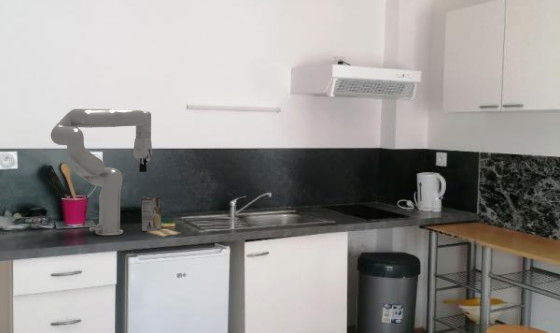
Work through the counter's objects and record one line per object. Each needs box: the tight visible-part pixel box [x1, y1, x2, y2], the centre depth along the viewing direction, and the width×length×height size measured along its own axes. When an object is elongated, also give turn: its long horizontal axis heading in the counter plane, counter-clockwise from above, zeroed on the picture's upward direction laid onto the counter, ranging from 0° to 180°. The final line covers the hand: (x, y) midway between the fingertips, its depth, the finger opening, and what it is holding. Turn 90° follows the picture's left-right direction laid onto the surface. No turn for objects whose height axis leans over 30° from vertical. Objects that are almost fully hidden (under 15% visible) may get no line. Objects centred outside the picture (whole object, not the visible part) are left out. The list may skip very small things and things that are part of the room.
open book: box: [146, 228, 182, 238], centre depth 259 cm, size 11×13×1 cm
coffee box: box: [140, 196, 162, 232], centre depth 265 cm, size 9×6×16 cm
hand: (142, 171), depth 269 cm, fingers closed
